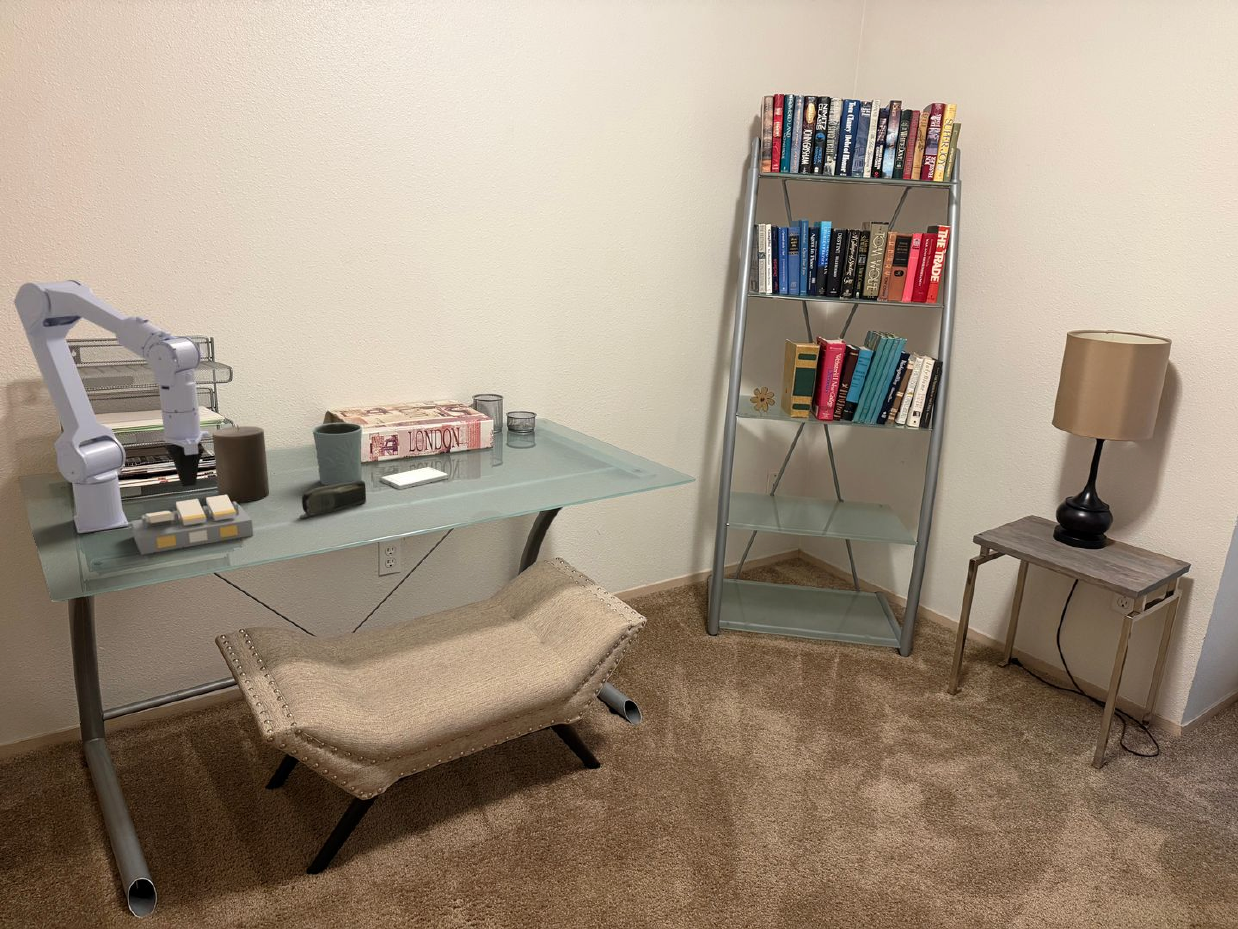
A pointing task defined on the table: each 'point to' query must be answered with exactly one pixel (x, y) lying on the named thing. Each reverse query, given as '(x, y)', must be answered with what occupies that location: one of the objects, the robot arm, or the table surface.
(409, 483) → the hard drive
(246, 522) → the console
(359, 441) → the grey green cup
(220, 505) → the rocker
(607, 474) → the table surface
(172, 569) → the table surface
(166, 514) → the block
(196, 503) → the rocker
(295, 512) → the table surface
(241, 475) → the pillar candle
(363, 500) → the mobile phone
